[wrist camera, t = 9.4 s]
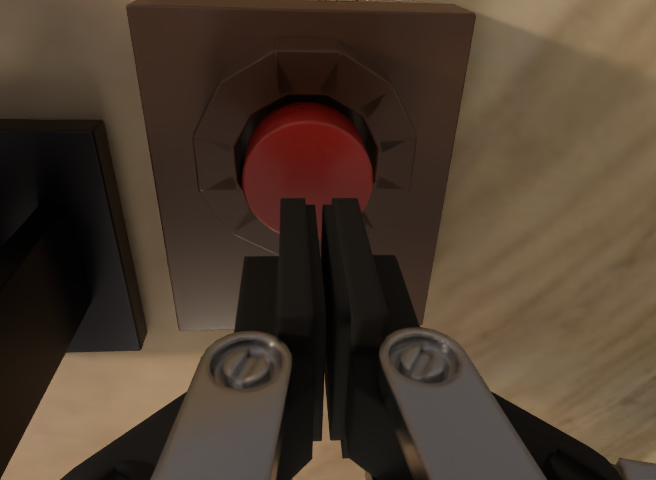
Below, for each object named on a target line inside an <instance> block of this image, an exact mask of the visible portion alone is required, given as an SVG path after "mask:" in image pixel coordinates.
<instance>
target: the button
mask: <svg viewBox="0 0 656 480" xmlns="http://www.w3.org/2000/svg"><path fill="white" fill-rule="evenodd" d="M242 187H243V193H244V196H245V200H246V202H247V204H248V206H249V208H250V209H251V211H252V213H253V214H254V215H255V216H256V218H257V219H258V220H259V221H260V222H261V223H263V224H264V225H265V226H266V227H268V228H269V229H271V230H272V231H274V232H276V233H278V234H280V198H305V201H306V205H315V208H316V218H317V228H318V237H319V239H320V238H321V233H322V206H323V205H331V203H332V198H357V199H358V202H359V206H360V209H361V213H362V212H363V210H364V209H365V207H366V205H367V203H368V201H369V199H370V196H371V192H372V187H373V170H372V165H371V162H370V159H369V156H368V153H367V150H366V148H365V145H364V142H363V139H362V137H361V135H360V133H359V131H358V129H357V128H356V126H355V125H354V124H353V123H352V121H351V120H350V119H349V118H348V117H346V116H345V115H344V114H343V113H341V112H340V111H338V110H336V109H334V108H332V107H330V106H327V105H324V104H320V103H316V102H297V103H292V104H288V105H285V106H282V107H280V108H278V109H276V110H274V111H273V112H271V113H269V114H268V115H267V116H266V117H265V118H263V119H262V120H261V121H260V123H259V124H258V125H257V126H256V128H255V129H254V131H253V132H252V134H251V137H250V139H249V142H248V145H247V150H246V156H245V161H244V167H243V173H242Z"/></svg>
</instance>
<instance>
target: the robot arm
mask: <svg viewBox="0 0 656 480" xmlns="http://www.w3.org/2000/svg"><path fill="white" fill-rule="evenodd" d="M324 373H325V385H326V397H327V409H328V421H329V432H330V440H331V441H332V440H341V448H342V458H350V459H351V460H352V461H354V462H355V463H356V464H358V465H359V466H360V467H362V468H363V469H364V470H365V479H366V480H656V464H654V463H648V462H642V461H636V460H629V459H623V458H619V459H618V461H617V463H616V465H614V464H610V462H609V461H608V460H607V459H606V458H605V457H603V456H602V455H600V454H599V453H597V452H596V451H595V450H593V449H592V448H590V447H589V446H587V445H585V444H583V443H582V442H580V441H578V440H576V439H574V438H573V437H571V436H569V435H567V434H566V433H564V432H562V431H560V430H559V429H557V428H555V427H553V426H551V425H550V424H548V423H546V422H544V421H543V420H541V419H539V418H537V417H535V416H534V415H532V414H530V413H528V412H527V411H525V410H523V409H521V408H520V407H518V406H516V405H514V404H512V403H511V402H509V401H507V400H505V399H504V398H502V397H500V396H498V395H496V394H495V393H493V392H491V391H490V390H489V388H488V386H487V385H486V383H485V382H484V380H483V379H482V377H481V376H480V374H479V372H478V371H477V369H476V368H475V366H474V365H473V363H472V361H471V360H470V358H469V357H468V355H467V354H466V352H465V351H464V349H463V348H462V347H461V346H460V345H459V344H458V343H457V342H456V341H455V340H453V339H452V338H450V337H449V336H447V335H446V334H443V333H441V332H438V331H436V330H432V329H427V328H422V327H420V326H419V323H418V320H417V317H416V314H415V311H414V308H413V305H412V302H411V299H410V296H409V293H408V290H407V287H406V284H405V281H404V278H403V275H402V272H401V269H400V267H399V264H398V261H397V258H396V256H395V255H373V254H372V251H371V247H370V243H369V239H368V236H367V232H366V228H365V224H364V221H363V217H362V213H361V209H360V206H359V202H358V199H357V198H332V203H331V205H323V206H322V233H321V257H320V247H319V237H318V228H317V218H316V208H315V205H306V201H305V198H280V235H279V256H245V257H244V262H243V269H242V277H241V284H240V292H239V299H238V307H237V314H236V321H235V329H234V333H233V334H229V335H227V336H224V337H222V338H220V339H218V340H216V341H215V342H214V343H213V344H212V345H210V346H209V347H208V348H207V349H206V351H205V353H204V354H203V356H202V357H201V359H200V362H199V364H198V366H197V369H196V371H195V374H194V376H193V379H192V381H191V383H190V386H189V388H188V391H187V392H185V393H184V394H183V395H181V396H180V397H178V398H177V399H175V400H174V401H172V402H171V403H169V404H168V405H166V406H165V407H163V408H162V409H160V410H159V411H157V412H156V413H154V414H153V415H152V416H150V417H149V418H147V419H146V420H144V421H143V422H141V423H140V424H138V425H137V426H135V427H134V428H132V429H131V430H129V431H128V432H126V433H125V434H124V435H122V436H121V437H119V438H118V439H116V440H115V441H113V442H112V443H110V444H109V445H107V446H106V447H104V448H103V449H101V450H100V451H98V452H97V453H95V454H94V455H93V456H91V457H90V458H88V459H87V460H85V461H84V462H82V463H81V464H79V465H78V466H76V467H75V468H73V469H72V470H71V471H70V472H69V473H67V474H66V475H65V476H64V477H63V478H61V479H60V480H293V477H294V476H295V475H296V474H297V473H298V472H299V471H300V470H301V469H302V468H303V467H304V466H305V465H306V464H307V463H308V462H309V461H310V460H311V459H312V446H313V441H322V421H323V396H324Z"/></svg>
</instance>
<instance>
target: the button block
mask: <svg viewBox="0 0 656 480" xmlns="http://www.w3.org/2000/svg"><path fill="white" fill-rule="evenodd" d="M126 10H127V16H128V22H129V28H130V34H131V40H132V46H133V53H134V59H135V65H136V71H137V77H138V83H139V89H140V95H141V102H142V108H143V114H144V120H145V126H146V132H147V138H148V144H149V151H150V157H151V163H152V169H153V175H154V181H155V187H156V193H157V200H158V206H159V212H160V218H161V224H162V230H163V236H164V242H165V249H166V255H167V261H168V267H169V273H170V279H171V285H172V291H173V298H174V304H175V310H176V316H177V322H178V328H179V331H192V330H234V329H235V321H236V314H237V307H238V299H239V292H240V284H241V277H242V269H243V262H244V257H245V256H279V235H280V234H278V233H276V232H274V231H272V230H271V229H269V228H268V227H266V226H265V225H264V224H263V223H261V222H260V221H259V220H258V219H257V218H256V216H255V215H254V214H253V213H252V211H251V209H250V208H249V206H248V204H247V202H246V200H245V196H244V193H243V187H242V173H243V167H244V161H245V156H246V150H247V145H248V142H249V139H250V137H251V134H252V132H253V131H254V129H255V128H256V126H257V125H258V124H259V123H260V121H261V120H262V119H263V118H265V117H266V116H267V115H268V114H269V113H271V112H273V111H274V110H276V109H278V108H280V107H282V106H285V105H288V104H292V103H297V102H316V103H320V104H324V105H327V106H330V107H332V108H334V109H336V110H338V111H340V112H341V113H343V114H344V115H345V116H346V117H348V118H349V119H350V120H351V121H352V123H353V124H354V125H355V126H356V128H357V129H358V131H359V133H360V135H361V137H362V139H363V142H364V145H365V148H366V150H367V153H368V156H369V159H370V162H371V165H372V170H373V187H372V192H371V196H370V199H369V201H368V203H367V205H366V207H365V209H364V210H363V212H362V217H363V221H364V224H365V228H366V232H367V236H368V239H369V243H370V247H371V251H372V254H373V255H395V256H396V258H397V261H398V264H399V267H400V269H401V272H402V275H403V278H404V281H405V284H406V287H407V290H408V293H409V296H410V299H411V302H412V305H413V308H414V311H415V314H416V317H417V320H418V323H419V325H422V324H423V318H424V312H425V306H426V301H427V295H428V289H429V283H430V278H431V272H432V266H433V260H434V255H435V249H436V243H437V237H438V232H439V226H440V220H441V214H442V208H443V203H444V197H445V191H446V185H447V180H448V174H449V168H450V162H451V157H452V151H453V145H454V139H455V134H456V128H457V122H458V116H459V110H460V105H461V99H462V93H463V87H464V82H465V76H466V70H467V64H468V59H469V53H470V47H471V41H472V36H473V30H474V24H475V18H476V14H474V13H472V12H470V11H468V10H466V9H464V8H461V7H459V6H457V5H455V4H430V3H394V2H358V1H322V0H136V1H133V2H131V3H129V4H127V5H126ZM319 247H320V257H321V238H320V239H319Z"/></svg>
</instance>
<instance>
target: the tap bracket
mask: <svg viewBox="0 0 656 480" xmlns="http://www.w3.org/2000/svg"><path fill="white" fill-rule="evenodd" d="M146 335H147V329H146V325H145V320H144V315H143V310H142V305H141V301H140V296H139V291H138V286H137V281H136V276H135V272H134V267H133V262H132V257H131V252H130V248H129V243H128V238H127V233H126V228H125V224H124V219H123V214H122V209H121V204H120V200H119V195H118V190H117V185H116V180H115V175H114V171H113V166H112V161H111V156H110V151H109V147H108V142H107V137H106V132H105V127H104V123H103V121H102V120H28V119H0V479H1V477H2V475H3V473H4V471H5V469H6V467H7V465H8V463H9V461H10V459H11V458H12V456H13V454H14V452H15V450H16V448H17V446H18V444H19V442H20V440H21V438H22V436H23V434H24V432H25V430H26V428H27V427H28V425H29V423H30V421H31V419H32V417H33V415H34V413H35V411H36V409H37V407H38V405H39V403H40V401H41V399H42V398H43V396H44V394H45V392H46V390H47V388H48V386H49V384H50V382H51V380H52V378H53V376H54V374H55V372H56V370H57V368H58V367H59V365H60V363H61V361H62V359H63V357H64V355H65V353H67V352H105V351H140V350H141V349H142V346H143V343H144V340H145V337H146Z"/></svg>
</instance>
